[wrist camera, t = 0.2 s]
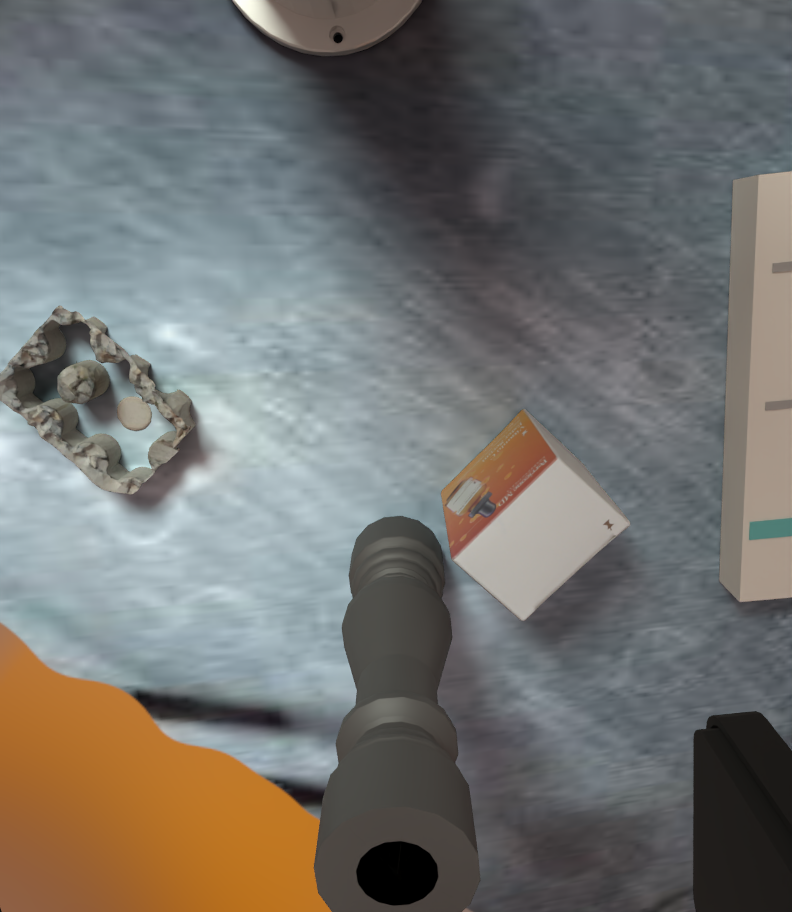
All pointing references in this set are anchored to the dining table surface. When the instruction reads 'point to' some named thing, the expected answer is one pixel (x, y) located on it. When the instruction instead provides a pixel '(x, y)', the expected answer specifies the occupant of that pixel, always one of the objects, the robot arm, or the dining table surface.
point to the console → (759, 394)
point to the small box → (526, 516)
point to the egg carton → (84, 385)
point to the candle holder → (397, 741)
